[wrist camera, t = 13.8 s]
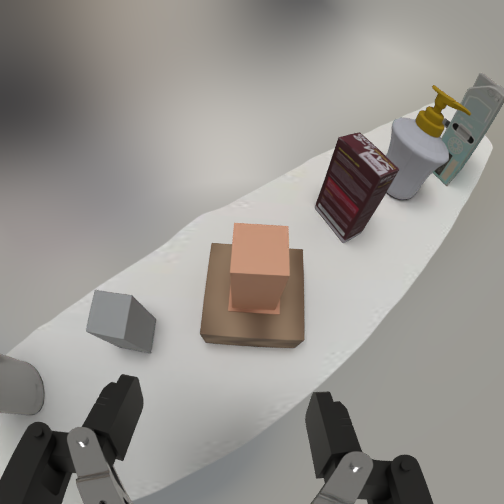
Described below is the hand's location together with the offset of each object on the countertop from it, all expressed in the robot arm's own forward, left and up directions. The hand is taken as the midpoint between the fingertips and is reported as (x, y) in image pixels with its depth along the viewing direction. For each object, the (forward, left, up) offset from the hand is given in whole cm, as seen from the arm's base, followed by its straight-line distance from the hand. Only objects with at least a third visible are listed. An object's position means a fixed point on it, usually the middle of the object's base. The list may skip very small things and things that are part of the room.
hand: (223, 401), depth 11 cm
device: (+52, +52, -25) cm, 78 cm away
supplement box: (+16, +29, -25) cm, 41 cm away
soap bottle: (+31, +40, -24) cm, 56 cm away
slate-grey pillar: (-14, +7, -24) cm, 29 cm away
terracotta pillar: (+2, +13, -18) cm, 22 cm away
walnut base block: (+2, +13, -24) cm, 27 cm away
